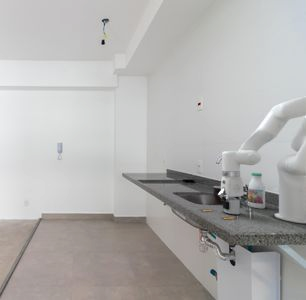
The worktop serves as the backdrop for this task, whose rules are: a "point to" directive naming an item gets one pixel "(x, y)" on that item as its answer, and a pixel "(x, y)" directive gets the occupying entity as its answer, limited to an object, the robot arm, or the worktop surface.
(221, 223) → the worktop surface
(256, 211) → the worktop surface
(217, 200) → the coffee mug
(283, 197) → the robot arm
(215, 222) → the worktop surface
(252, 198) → the milk bottle
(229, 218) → the tape marks
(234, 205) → the pot
